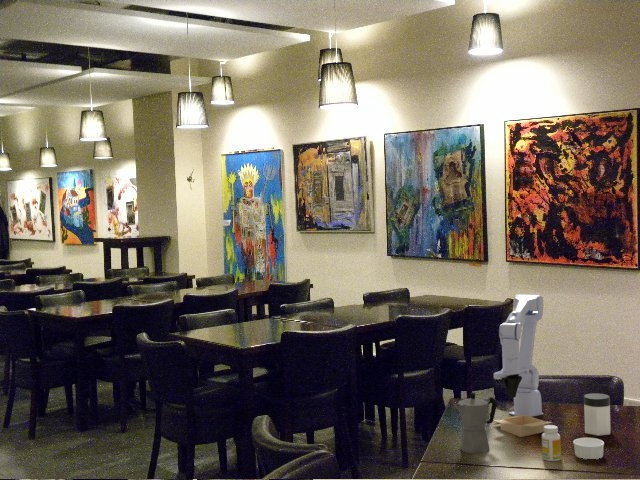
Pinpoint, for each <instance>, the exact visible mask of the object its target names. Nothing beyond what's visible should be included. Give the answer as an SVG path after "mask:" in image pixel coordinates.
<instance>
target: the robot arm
mask: <svg viewBox="0 0 640 480" xmlns="http://www.w3.org/2000/svg"><path fill="white" fill-rule="evenodd" d="M513 297H514V298H513V301H512V302H513V308H514V310H513V311H512V312H510V313H509V315H508V317H507V318H506V320H505V321H504V322H503V323H502V324H500V325H499V328H498V336H499V339H500V345H501V351H502V353H501V357H502V368H501V370H499V371H495V372H493V380H494V379H495V380H500V379H501V380H502V383H503V384H504V386H505V388H506V392H507V394H508V397H509V398H511V399H512V398H513V411H510V412H508V414H509V415H512V416H518V415H527V416H530V417H533V418H534V417H537V416H541V415H544V413H543V412H542V409H543V408H542V394H541V393H540V390H538V388H539V383H540V382H539V381H540V379H539V375H540V374H539V371H538V369H537V367H536V366H535V365H533V364H532V363H533V357H534V347H535V339H536V330H537V326H538V321H540V320H542V319H543V315H544V314H543V313H544V306H545V305H544V299H543V298H544V297H543V296H542V294H519V293H516V294H515V295H514V296H513Z"/></svg>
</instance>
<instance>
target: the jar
mask: <svg viewBox="0 0 640 480" xmlns="http://www.w3.org/2000/svg"><path fill="white" fill-rule="evenodd" d="M583 404H584V405H583V406H584V409H583V410H584V411H583V412H584V413H583V414H584V433H585V434H588V435H592V436H608V435H611V396H610V395H608V394H605V393H598V392H597V393H596V392H595V393H593V392H592V393H586V394H584V395H583Z"/></svg>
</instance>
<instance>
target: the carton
mask: <svg viewBox="0 0 640 480" xmlns="http://www.w3.org/2000/svg"><path fill="white" fill-rule="evenodd" d="M511 417H512V418H508V417H506V418H507V419H503V418H501V419H502V420H505V421H508V422H511V423H514V424H515V425H511V424H500V431H503V432H505V433H508V434H511V435H514V436H517V437H519V438H522V437H527V436H531V435H537V434H541V433H542V434H543V433H545V432H544V426H545V425H540V426H535V427H530V426H523V425H526V424H531V423H535V422H540V420H541V419H540V420H537V419H538V418H537V419H534V418H535V417H533V418H531V417H528V416H525V415H522V416H517V417H513V416H511Z"/></svg>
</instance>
